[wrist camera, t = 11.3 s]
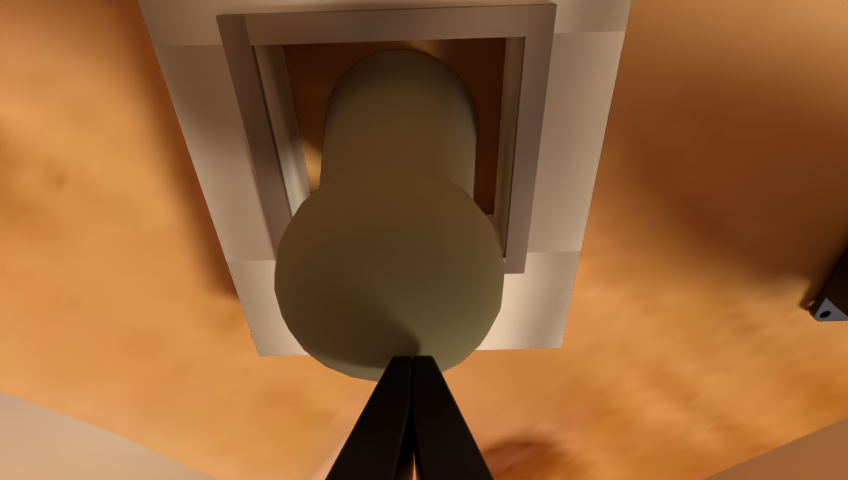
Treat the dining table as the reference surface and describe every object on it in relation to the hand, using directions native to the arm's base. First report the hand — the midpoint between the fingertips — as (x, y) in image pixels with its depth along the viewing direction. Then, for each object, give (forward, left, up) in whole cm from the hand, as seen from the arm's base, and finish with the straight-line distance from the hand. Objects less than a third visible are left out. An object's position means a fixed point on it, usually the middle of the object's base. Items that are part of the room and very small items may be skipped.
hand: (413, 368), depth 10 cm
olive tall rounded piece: (+1, -1, -11) cm, 11 cm away
